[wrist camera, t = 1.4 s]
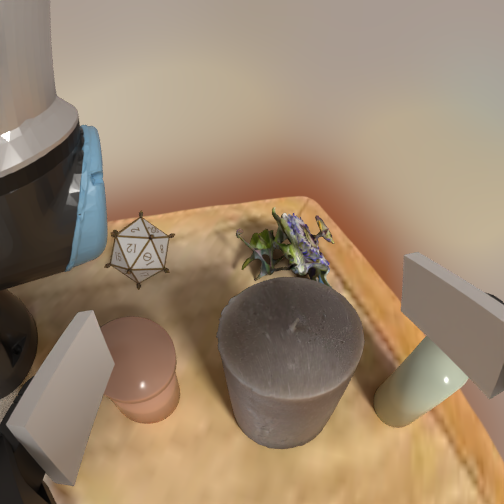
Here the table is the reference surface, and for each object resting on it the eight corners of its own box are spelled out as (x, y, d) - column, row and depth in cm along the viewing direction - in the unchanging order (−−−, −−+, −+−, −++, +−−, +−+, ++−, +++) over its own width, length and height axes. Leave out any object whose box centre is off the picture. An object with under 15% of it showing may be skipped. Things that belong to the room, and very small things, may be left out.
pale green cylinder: (363, 405, 30) (407, 362, 23) (391, 370, 33) (434, 321, 26) (402, 437, 27) (456, 402, 20) (427, 399, 30) (477, 356, 23)
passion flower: (300, 298, 47) (356, 285, 37) (234, 308, 42) (280, 298, 32) (287, 225, 49) (337, 196, 39) (221, 226, 44) (261, 192, 34)
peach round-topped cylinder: (97, 382, 29) (70, 343, 23) (156, 347, 33) (143, 302, 27) (136, 441, 25) (112, 417, 19) (199, 400, 29) (194, 365, 24)
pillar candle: (337, 375, 31) (376, 277, 21) (316, 461, 24) (360, 407, 14) (250, 354, 34) (244, 250, 24) (217, 433, 27) (186, 361, 17)
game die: (145, 280, 45) (148, 210, 44) (186, 292, 40) (190, 212, 39) (92, 287, 37) (94, 208, 36) (130, 302, 32) (132, 208, 31)
